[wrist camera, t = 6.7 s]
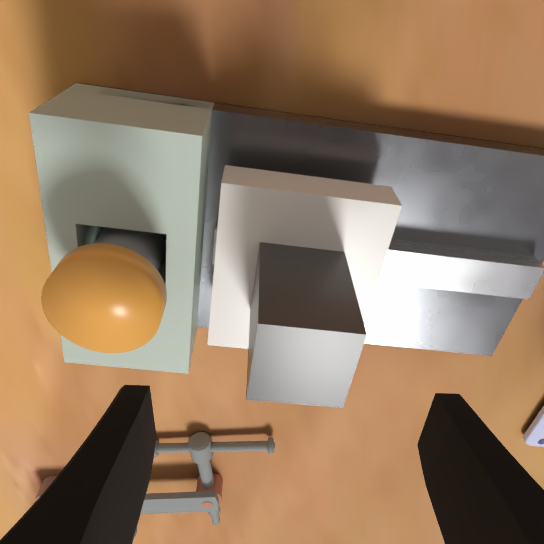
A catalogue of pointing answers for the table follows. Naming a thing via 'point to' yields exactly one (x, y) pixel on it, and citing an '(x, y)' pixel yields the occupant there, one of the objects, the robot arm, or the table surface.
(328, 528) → the table surface
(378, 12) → the table surface
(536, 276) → the rail
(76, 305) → the plunger
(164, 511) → the clamp
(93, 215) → the end cabinet
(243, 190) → the carriage
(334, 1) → the table surface
